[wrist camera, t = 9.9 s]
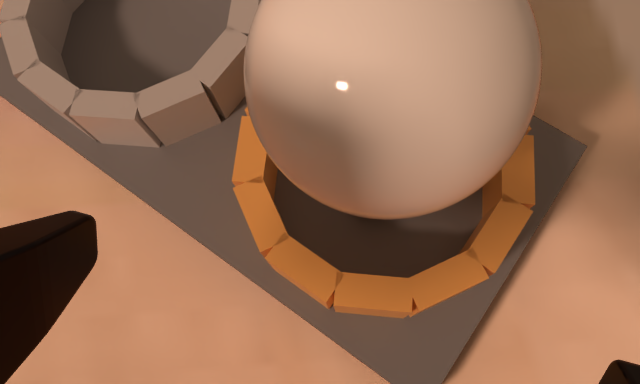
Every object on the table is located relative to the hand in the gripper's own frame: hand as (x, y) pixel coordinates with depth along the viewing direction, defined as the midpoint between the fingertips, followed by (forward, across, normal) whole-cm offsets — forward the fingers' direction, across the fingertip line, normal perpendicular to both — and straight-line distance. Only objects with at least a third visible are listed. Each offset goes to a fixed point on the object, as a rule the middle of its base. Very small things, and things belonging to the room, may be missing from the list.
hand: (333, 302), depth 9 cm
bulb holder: (+13, +5, +2) cm, 14 cm away
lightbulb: (+10, 0, +3) cm, 11 cm away
